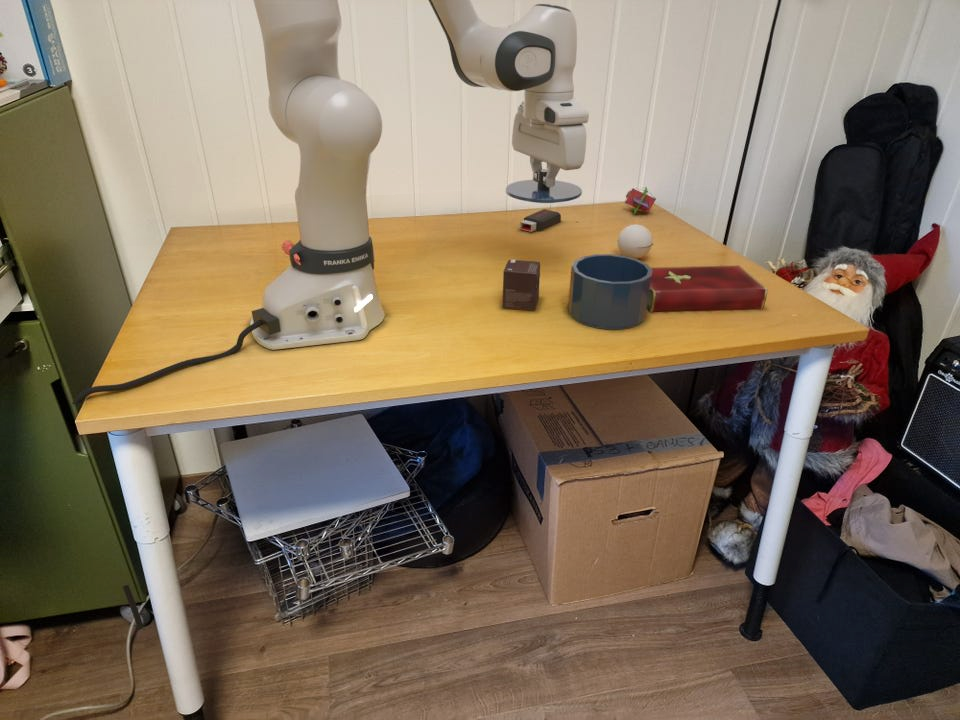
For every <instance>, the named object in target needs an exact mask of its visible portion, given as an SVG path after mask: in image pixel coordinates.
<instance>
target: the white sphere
mask: <svg viewBox="0 0 960 720" xmlns="http://www.w3.org/2000/svg"><path fill="white" fill-rule="evenodd" d="M654 237H656V235H654V236H652V233H651V232H650V230H649V229H648V228H647V227H646V226H645V225H642V224H637V223H635V224H634V223H633V224H630V225H627V226H626V227H625V228H623V229H622V230H620V232H619V234H618V238H617V242H616V243H617V248H618V250H619V252H620V253H621V254H622V256H626V257H630V258H634V259H637V260H639V259H642V258H644V256H646V255H648V254H649V252H650V251H651V248H652V246H654V243H653V238H654Z"/></svg>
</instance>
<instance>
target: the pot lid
mask: <svg viewBox="0 0 960 720" xmlns="http://www.w3.org/2000/svg"><path fill="white" fill-rule="evenodd" d="M547 171H548V169H547V168H542V169H540V170H538V182H535V181H533V179H524V180H519V181H514V182H512V183H509V184H508V185H506V186H505V194H506V195H507V196H509V197H510V198H513V199H516V200H520V201H525V202H530V203H537V204H555V203H563V202H564V203H565V202H571V201H574V200H576V199H579V198H580V197H581V196H582V194H583V193H582V192H583V190H582V188H581V187H580V186H579V185H576V184H574V183H572V182H567V181H563V180H557V179H555V186H554V187H547V186H544V185H543V176H546V174H547Z"/></svg>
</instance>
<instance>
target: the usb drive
mask: <svg viewBox="0 0 960 720" xmlns="http://www.w3.org/2000/svg"><path fill="white" fill-rule="evenodd" d="M561 221H562V215H561V212H558V211H554V210H549V209H544V208H543V209H541V210H539V211H536V212H534V213H531V214H529V215H527V216H525V217H524V218H523V220H522V221H520V222H519V229H520V230H522V231H527V232H529V233H530V232H531V233H532V232H535V231H536V232H540V231H544V230H546V229H549V228H550V227H552V226H554V225H557V224H559V223H561Z"/></svg>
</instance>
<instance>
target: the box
mask: <svg viewBox="0 0 960 720" xmlns="http://www.w3.org/2000/svg"><path fill="white" fill-rule="evenodd" d="M502 275H503V277H502V279H503V280H502V309H509V310H510V309H511V310H519V311H520V310H521V311H532V312H533V311H536V308H537V306H538V303H539V298H540V282H541V281H540V278H541V261H535V260H522V259H521V260H520V259H508V260H507V261H506V264H505V267H504V269H503V274H502Z"/></svg>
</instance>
